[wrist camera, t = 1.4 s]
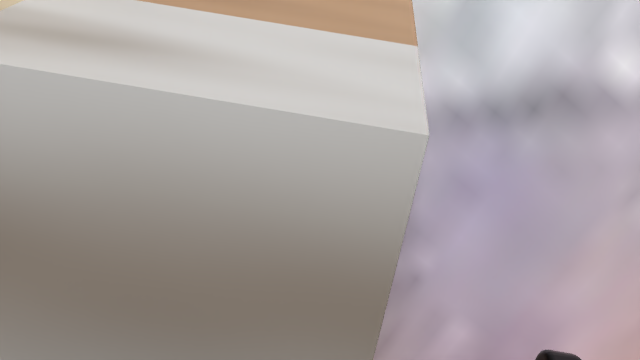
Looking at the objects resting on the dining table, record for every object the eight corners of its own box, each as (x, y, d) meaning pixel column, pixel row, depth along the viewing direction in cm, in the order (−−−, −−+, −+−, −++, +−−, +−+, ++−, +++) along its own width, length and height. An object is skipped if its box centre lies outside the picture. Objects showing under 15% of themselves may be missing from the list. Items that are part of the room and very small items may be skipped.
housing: (355, 267, 14) (335, 507, 9) (137, 229, 14) (-3, 446, 9) (411, -2, 11) (429, 135, 6) (131, -47, 11) (-88, 49, 6)
